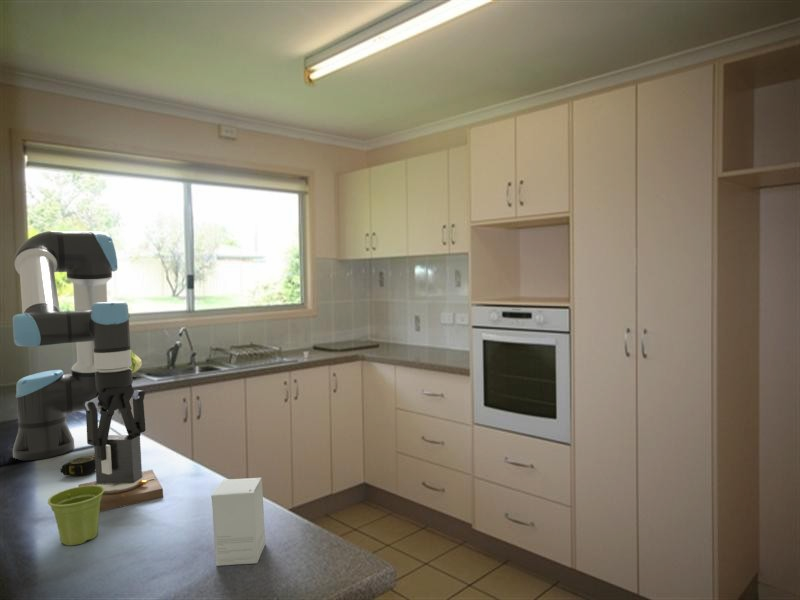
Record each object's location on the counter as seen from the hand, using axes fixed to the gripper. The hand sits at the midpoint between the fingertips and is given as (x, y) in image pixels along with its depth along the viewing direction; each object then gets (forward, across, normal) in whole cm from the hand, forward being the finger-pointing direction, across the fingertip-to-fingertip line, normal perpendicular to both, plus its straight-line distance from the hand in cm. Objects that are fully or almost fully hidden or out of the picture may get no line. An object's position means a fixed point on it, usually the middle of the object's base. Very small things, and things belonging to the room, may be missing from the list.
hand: (119, 468), depth 126 cm
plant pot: (+6, +16, +13) cm, 22 cm away
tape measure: (+6, -3, -24) cm, 25 cm away
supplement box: (+6, +6, +46) cm, 47 cm away
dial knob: (+4, 0, +1) cm, 4 cm away
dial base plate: (+6, 0, 0) cm, 6 cm away
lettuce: (+6, -86, -144) cm, 168 cm away
